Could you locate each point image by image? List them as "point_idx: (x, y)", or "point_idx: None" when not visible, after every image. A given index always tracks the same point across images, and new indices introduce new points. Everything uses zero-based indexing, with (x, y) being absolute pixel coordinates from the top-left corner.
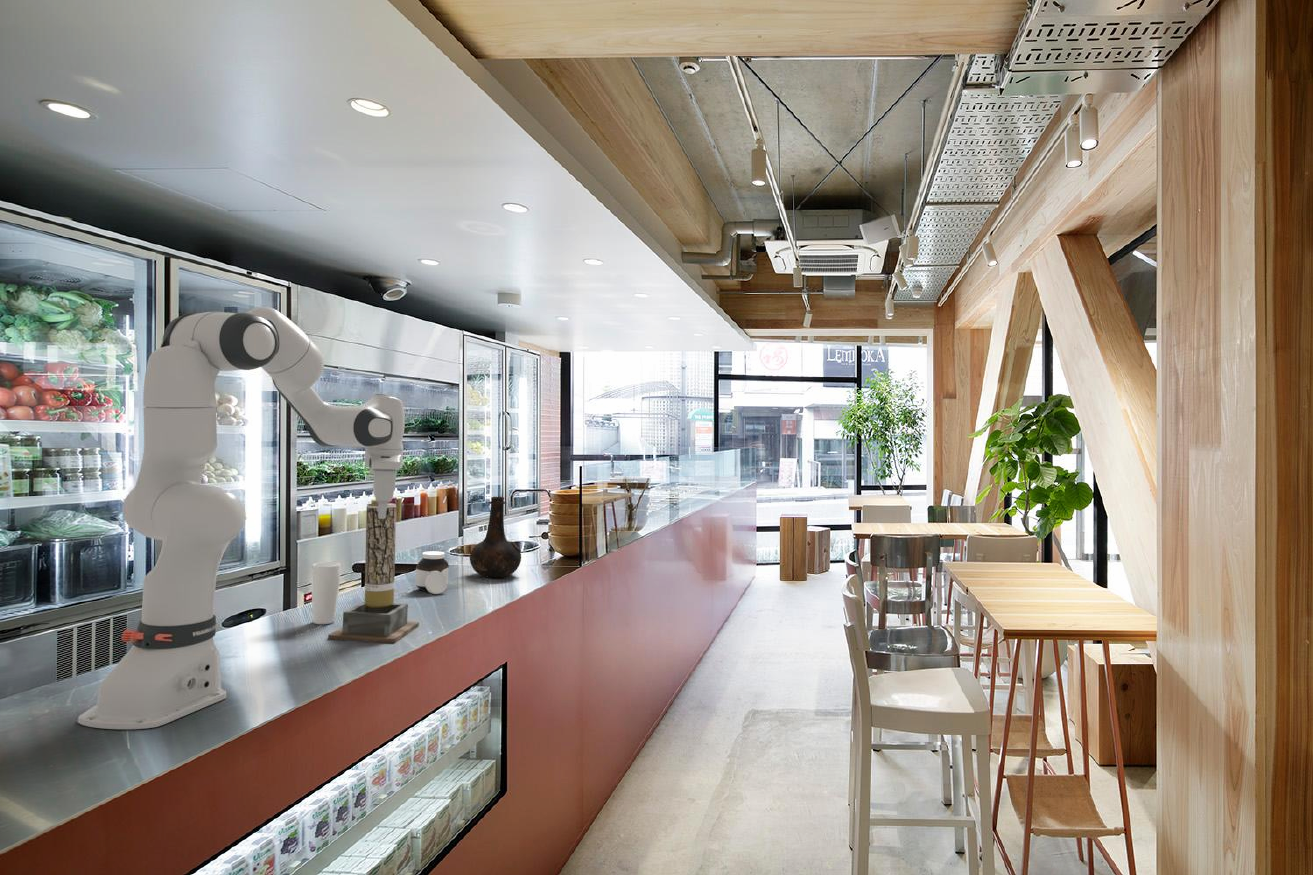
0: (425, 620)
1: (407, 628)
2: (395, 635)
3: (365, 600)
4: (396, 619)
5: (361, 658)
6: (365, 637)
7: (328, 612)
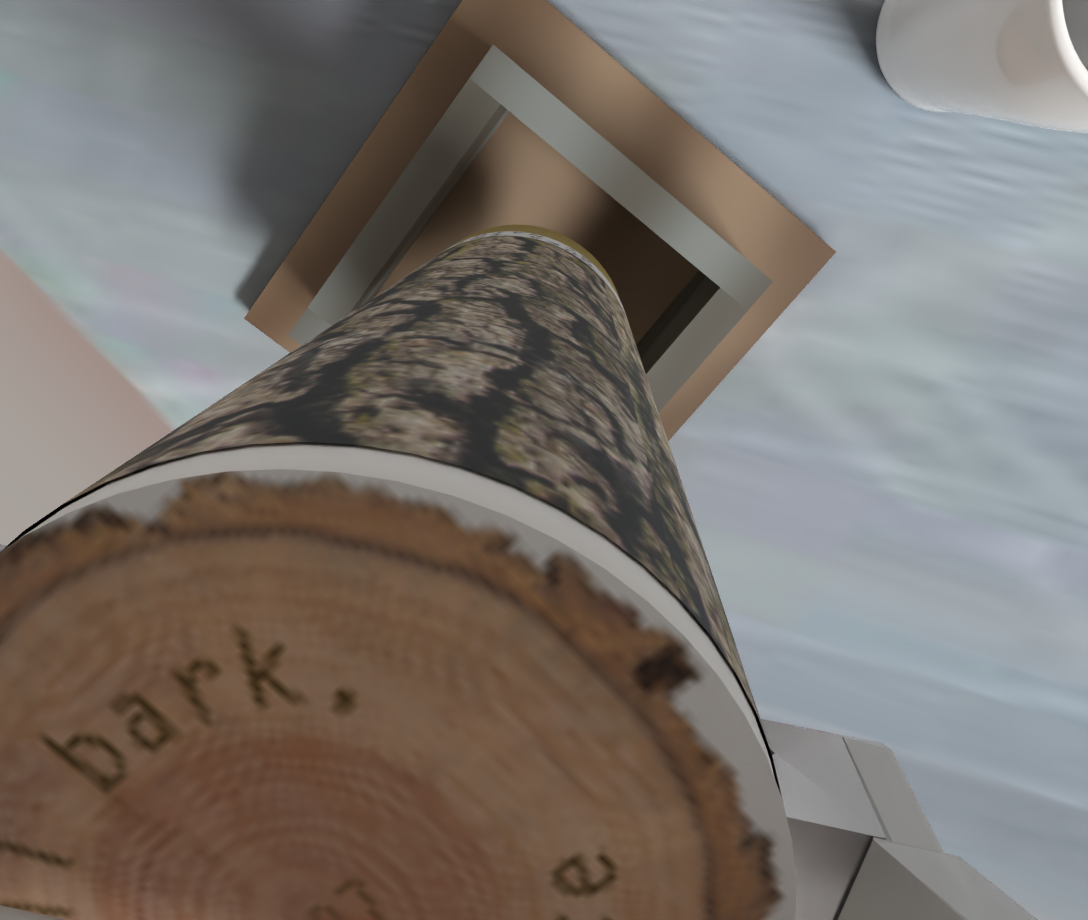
0: None
1: None
2: None
3: (511, 226)
4: None
5: (6, 51)
6: (346, 169)
7: (895, 37)
